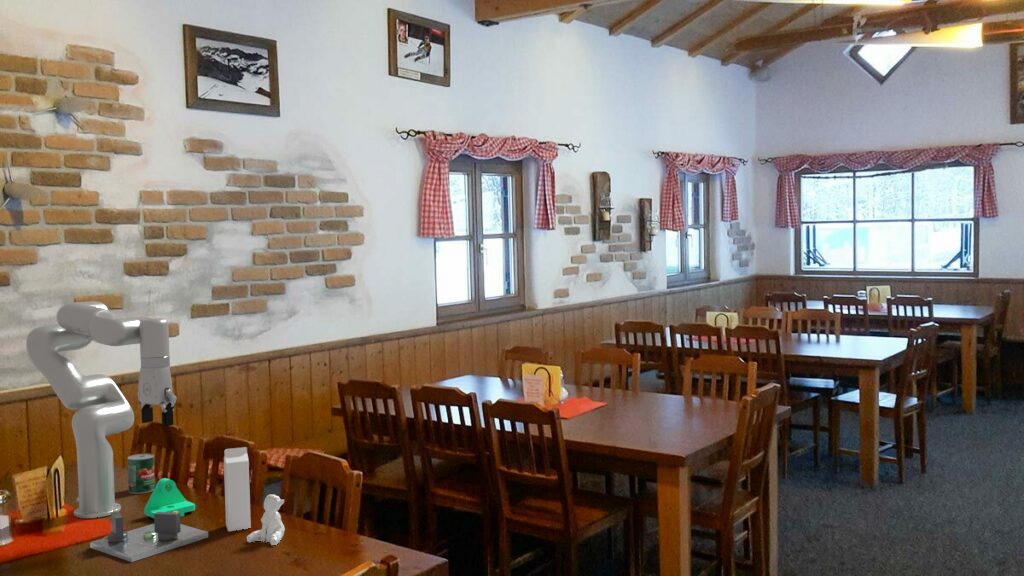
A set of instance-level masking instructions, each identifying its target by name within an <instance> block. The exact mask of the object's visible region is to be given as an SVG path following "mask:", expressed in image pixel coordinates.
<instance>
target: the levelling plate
mask: <svg viewBox="0 0 1024 576" xmlns="http://www.w3.org/2000/svg"><path fill="white" fill-rule="evenodd" d="M180 528H181V532H179V533H178V537H177V538H176V539H173V540H169V541H160V540H158V533H155V526H154V523H151V524H149V525H148V524H147V525H144V526H142V527H138V528H134V529H131V530H128V531H126V532H128V539H127V540H125V541H122V542H116V543H111V542H108V535H107V536H104V537H103V538H101V539H100V538H99V539H96V540H93V541H90V542H89V546H90V547H89V548H90V549H91V550H92V549H93V550H95V551H98V552H101V553H103V554H106V555H110V556H113V557H116V558H119V559H121V560H124V561H127V562H130V563H133V562H136V561H140V560H142V559H145V558H148V557H152V556H156V555H158V554H161V553H164V552H167V551H171V550H173V549H176V548H180V547H183V546H186V545H189V544H193V543H196V542H198V541H202V540H204V539H207V538H209V531H207V530H202V529H200V528H195V527H192V526H188V525H185V524H181V523H180Z"/></svg>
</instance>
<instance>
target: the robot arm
mask: <svg viewBox="0 0 1024 576" xmlns="http://www.w3.org/2000/svg"><path fill="white" fill-rule="evenodd" d="M56 321H57V323H52V324H46V325H45V324H44V325H40V326H37V327H35V328H33V329H32V330H31V331H29V333H28V334H27V338H26V343H25V345H26V352H27V355H28V357H29V359H30V361H31V364H33V366H34V367H35V368H36V369H37V370H38V372H40V373H41V374H42V376H43V378H44V379H46V380H47V382H48V384H49V385H50V387H51V389H52V390H53V391H54V393H55V395H56V396H57V397H58V399H59V401H60V402H61V404H63V406H64V407H65V408H66V409H67V410H70V411H76V412H75V413H74V414H73V416H72V418H71V429H72V432H73V436H74V440H75V447H76V458H77V459H76V460H77V461H76V462H77V478H78V479H77V481H78V484H77V485H78V497H77V498H76V502H77V503H78V504H79V505H78V506H79V507H78V508H76V509H74V510H73V516H74V517H75V516H76V518H78V517H79V518H80V519H96V518H97V517H98V518H103V517H107V516H111V513H112V512H113V510H117V511H118V512H119V513H120V511H121V509H122V506H121V504H120V503H117V502H116V500H115V499H116V493H115V474H114V473H115V469H114V468H115V467H114V451H113V448H112V446H111V444H110V443H109V441H108V440H107V439H106V437H108V436H110V435H115V434H119V433H123V432H126V431H128V430H129V429H131V427H132V426H133V424H134V422H135V413H134V410H133V408H132V406H131V405H130V403H129V402H128V400H127V399H126V397H125V395H124V394H123V393H122V391H121V389H120V387H119V386H118V385H117V383H115V381H114V380H113V379H112V378H111V377H110V376H108V375H106V374H100V373H99V374H91V375H84V374H82V373H81V372H80V370H79V369H78V367H77V366H76V365H75V364H74V362H73V361H72V360H70V359H68V357H65V356H63V355H62V354H60V353H62V352H69V351H70V352H71V351H77V350H81V349H84V348H86V347H88V345H90V343H92V342H94V343H97V344H100V345H104V346H111V347H122V346H123V347H124V346H129V345H138V344H139V354H140V355H139V357H140V369H139V372H138V373H139V374H138V388H137V389H138V391H137V392H136V394H137V398H138V402H139V408H140V409H141V423H143V424H146V423H152V422H153V421H154V410H153V409H154V408H153V406H160V408H161V427H163V428H165V427H169V426H173V425H174V411H175V406H176V402H177V399H178V398H177V395H175V393H174V391H173V380H172V374H171V365H170V364H171V361H170V358H171V357H170V333H169V330H170V329H169V322H168V319H165V318H162V317H161V318H160V317H158V318H157V317H155V318H151V317H147V316H136V317H135V316H134V317H122V318H114V317H113V314H112V313H111V311H110V310H109V308H108V307H107V305H106V304H104V303H103V302H101V301H97V300H90V301H75V302H70V303H66V304H64V305H62V306H61V307H60V308H59V309H58V311H57V313H56ZM79 518H78V519H79ZM98 518H97V519H98Z"/></svg>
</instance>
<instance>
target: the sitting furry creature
mask: <svg viewBox="0 0 1024 576" xmlns="http://www.w3.org/2000/svg"><path fill="white" fill-rule="evenodd" d="M284 504H285V499H281V498H280V496H279V495H276V494H268V495H266V497H265V499H264V502H263V509H264V510H265V512H263V515H262V517H261V518H260V522H261V524H262V526H261V529H258V530H254V531H252V532H250V534H248V535H246V541H247V543H249V544H252V543H251V542H253V543H256V542H255V541H261V542H260V543H267V542H270V543H269V544H270V545H271V546H272V545H276V546H278V545H279V544H280V543H281V541H282V539H283V537H284V535H285V530H286V529H285V525H284V524H283V521H282V516H281V514H280V513H279V512H278V510H280V509H281V506H282V505H284ZM280 540H281V541H280ZM262 541H263V542H262ZM264 541H266V542H264ZM278 543H279V544H278ZM277 544H278V545H277Z"/></svg>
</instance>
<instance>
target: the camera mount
mask: <svg viewBox="0 0 1024 576" xmlns="http://www.w3.org/2000/svg"><path fill="white" fill-rule="evenodd" d="M143 510H144V511H143V514H144V515H145V516H148V517H150V518H152V519H154V514H155V513H157V512H172V513H173V512H174V511H178V513H180V516H181V517H184V516H185V513H189V512H193V511H195V510H196V504H195V503H193V502H190V501H189V500H187V499H186V498H185V497H184V494H182V493H181V491H180V489H178V487H177V484H176V482H175V481H174V480H172V479H169V478H166V477H164V478H160V479H159V481H157V482H156V484H155V489H154V491H152V493H151V495H150V496H149V499H148V501H147V502H146V504H145V507H144V509H143Z"/></svg>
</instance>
